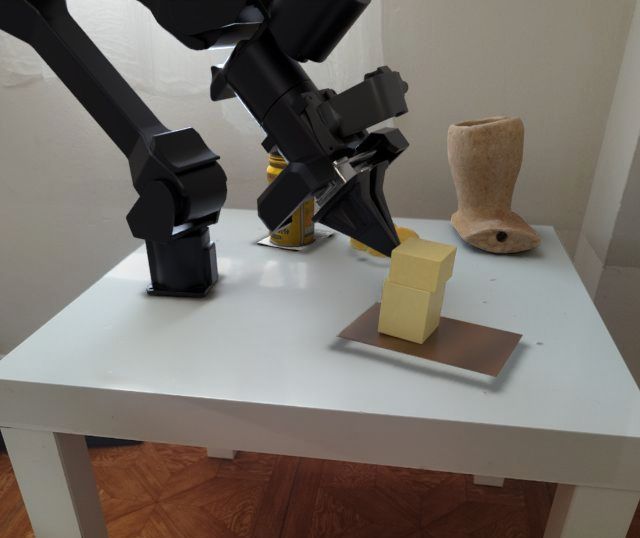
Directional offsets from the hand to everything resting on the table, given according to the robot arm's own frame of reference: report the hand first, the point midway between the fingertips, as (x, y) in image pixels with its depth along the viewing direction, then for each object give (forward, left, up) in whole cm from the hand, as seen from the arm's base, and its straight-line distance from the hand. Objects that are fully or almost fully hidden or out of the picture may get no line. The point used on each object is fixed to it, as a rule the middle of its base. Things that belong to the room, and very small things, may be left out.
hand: (397, 254), depth 54 cm
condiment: (-13, +28, -8) cm, 32 cm away
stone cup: (+12, +32, -8) cm, 35 cm away
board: (+4, -1, -8) cm, 9 cm away
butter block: (+2, -1, -7) cm, 7 cm away
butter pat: (+2, -1, -2) cm, 3 cm away
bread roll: (-1, +24, -8) cm, 25 cm away
